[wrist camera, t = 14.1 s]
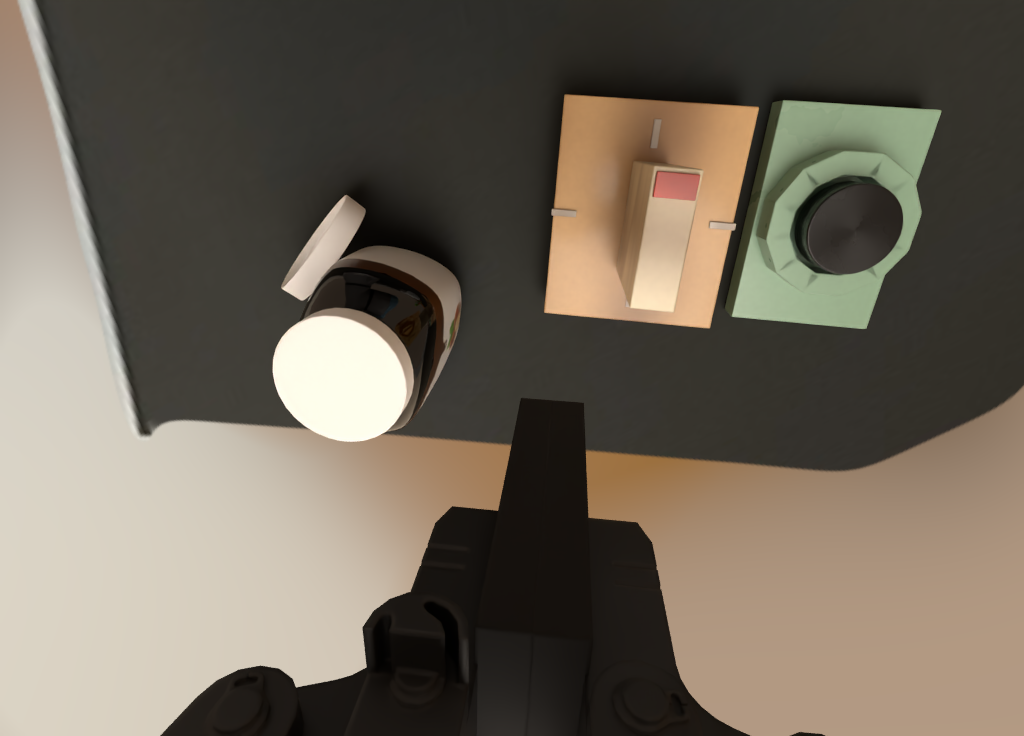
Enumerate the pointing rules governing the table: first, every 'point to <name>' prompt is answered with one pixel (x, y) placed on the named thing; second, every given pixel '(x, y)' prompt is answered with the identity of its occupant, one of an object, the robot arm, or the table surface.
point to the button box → (800, 175)
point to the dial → (657, 233)
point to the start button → (849, 227)
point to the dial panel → (604, 191)
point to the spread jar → (363, 332)
